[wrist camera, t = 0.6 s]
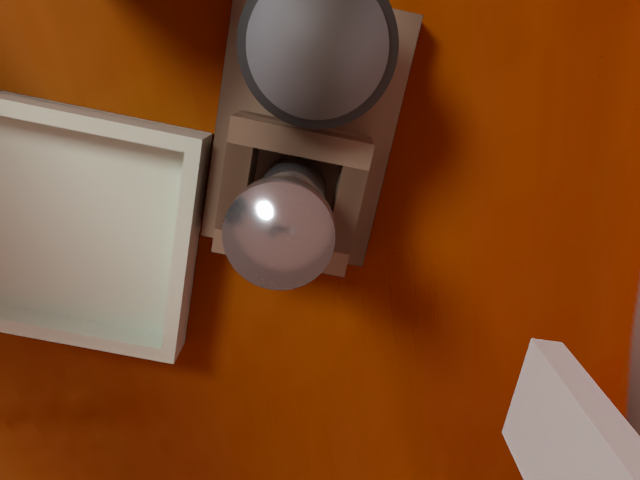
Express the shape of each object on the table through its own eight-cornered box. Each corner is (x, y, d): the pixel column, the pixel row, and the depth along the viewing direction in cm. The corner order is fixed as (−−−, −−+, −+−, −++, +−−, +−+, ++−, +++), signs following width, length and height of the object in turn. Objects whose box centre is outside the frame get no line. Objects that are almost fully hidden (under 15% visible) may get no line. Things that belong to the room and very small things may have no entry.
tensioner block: (207, 226, 38) (175, 268, 30) (244, -39, 32) (216, -69, 25) (360, 256, 38) (367, 305, 30) (422, 0, 33) (449, -18, 25)
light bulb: (248, 217, 35) (214, 278, 25) (260, 138, 34) (230, 171, 24) (325, 232, 35) (322, 299, 26) (342, 155, 34) (346, 195, 24)
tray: (-56, 298, 40) (-86, 316, 37) (-62, 77, 35) (-97, 79, 32) (184, 342, 41) (173, 364, 38) (212, 133, 36) (202, 139, 33)
